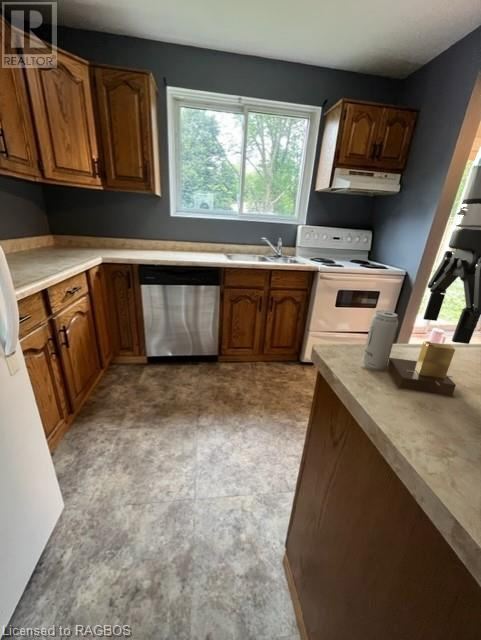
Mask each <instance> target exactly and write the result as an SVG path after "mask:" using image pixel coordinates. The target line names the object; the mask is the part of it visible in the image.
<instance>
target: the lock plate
mask: <svg viewBox="0 0 481 640" xmlns="http://www.w3.org/2000/svg"><path fill="white" fill-rule="evenodd" d="M417 361H418V360H411V359H402V358H395V357H389V360H388V364H387V367H386V369H387V370H388V372H389V374H390V376H391V377H392V379H393V380H394V382H395V384H396V385H397V387H398V389H400V390H406V391H413V392H420V393H426V394H435V395H441V396H448V397H452V396H453V394H454V392H455V389H456V387H457V384H456V383H455V382H454V381H453V380H452V379H451V378H454V377H453V376H452V375H447V374H446V377H445V378H438V377H431V376H423V375H419V374H418V373H417V372H416V370H415V368H416V365H417Z"/></svg>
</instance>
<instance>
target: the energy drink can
mask: <svg viewBox="0 0 481 640" xmlns="http://www.w3.org/2000/svg"><path fill="white" fill-rule="evenodd" d="M398 327H399V320H398V314H397V313H395V312H393V311H388V310H376V311H375V313H374V314H373V316H372V317H371V320H370V323H369V329H368V334H367V338H366V341H365V347H364V351H363V355H362V360H361V361H362V364H363V366H364V368H366V369H368V370H370V371H374V372H382V371H384V370H385V369H387V365H388V361H389V358H391V357H390V356H391V353H392V349H393V345H394V342H395V338H396V334H397V330H398Z"/></svg>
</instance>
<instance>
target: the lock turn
mask: <svg viewBox="0 0 481 640" xmlns="http://www.w3.org/2000/svg"><path fill="white" fill-rule="evenodd" d="M455 351H456V348H454V346H452V345H451V344H446V343H440V342H439V343H438V342H431V341H429V340H424V341H423V342H422V345H421V349H420V352H419V355H418V359H417V360H416V361H417V365H416V368H415V370H416V372H417V373H418V374H419V375H423V376H431V377H438V378H445V377H446V375H447V374H448V371H449V368H450V366H451V363H452V360H453V358H454V354H455Z"/></svg>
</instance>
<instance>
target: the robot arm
mask: <svg viewBox="0 0 481 640" xmlns="http://www.w3.org/2000/svg"><path fill="white" fill-rule="evenodd" d="M456 214H457V217H456V222H455V224H454V225H455V226H456V227H457V229H454V230H452V234H451V236H450V240H449V243H448V248H450V249H453V250H454V251H453V250H452V251H451V250H445V251H444V254H443V257H442V260H441V262H440V263H439V265H438V267H437V268H436V270H435V272H434V273H433V275H432V277H431V278H430V281H429V282H428V284H427V288H428V289H430V290H429V292H430V295H429V299H428V302H427V305H426V309H425V312H424V315H423V320H424V321H433V322H435V321H436V322H437V321H438V319H439V316H440V312H441V310H442V306H443V303H444V300H445V297H446V294H447V289H448V288H449V287H450V286H451V285H452V284H453V283H454V282H455V281H456V280H457V279H458V278H459V279H460V281H462V282H463V283H462V284H463V291H464V299H465V301H464V302H465V307H463V308H462V309H461V310H462V311H461V314H460V316H459V318H458V322H457V324H456V327H455V330H454V333H453V336H452V339H451V342H453V343H456V344H457V343H458V344H467V345H470V343H471V340H472V337H473V335H474V333H475V330H476V328H477V325H478V322H479V320H480V318H481V146H480V147H479V150H478V151H477V154H476V157H475V159H474V161H473V164H472V166H471V171H470V175H469V179H468V182H467V184H466V189H465V191H464V195H463V199H462V202H461V205H460V209H458V210H457V212H456Z"/></svg>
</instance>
